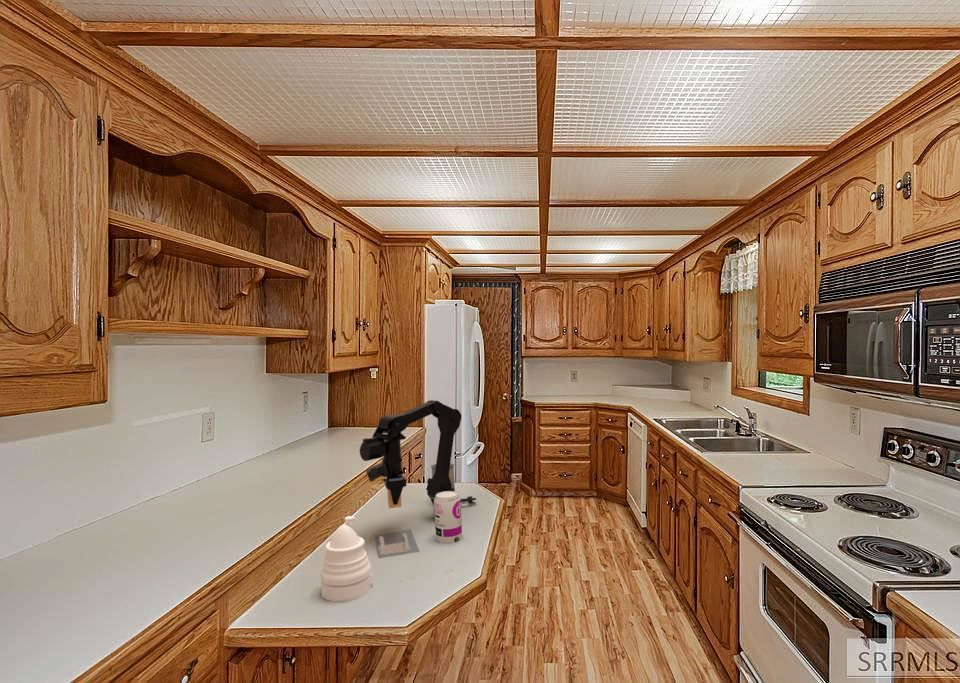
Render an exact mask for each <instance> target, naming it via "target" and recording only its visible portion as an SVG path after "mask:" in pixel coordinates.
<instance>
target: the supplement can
mask: <svg viewBox="0 0 960 683" xmlns="http://www.w3.org/2000/svg"><path fill="white" fill-rule="evenodd" d="M460 499H461V497H460V496H459V493H458V492H457V491H455V492H454V491H444V492H440V493H437V494H436V497H435V499H434V505H433V512H434V511H435V519H434V524H435V540H436V542H437V543H440V544H454V543H457V542H460V541H461V540H462V539H463V527H462V526H463V525H462V524H463V522H462V510H461V509H462V508H461V505H462V504H461V502H460Z"/></svg>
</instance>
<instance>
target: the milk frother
mask: <svg viewBox="0 0 960 683" xmlns="http://www.w3.org/2000/svg"><path fill="white" fill-rule="evenodd" d="M454 466H455V464H453V463H451V462H450V469H449V478H450V481H451V484H452V491H454V492H456V491H455V490H456V489H455V476H454V475H455V472H454ZM430 468H431V474H432V475H431V478H432V477H433V476H434V474H435V469H436V463H435V464H432V465H431V466H430ZM476 500H477V498H476V497H473V496H471V495H470V496H467V497H465V498H460V503H465V502H466V503H468V504H473V503H474V501H476ZM432 505H433V506H434V503H432Z"/></svg>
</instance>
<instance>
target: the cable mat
mask: <svg viewBox="0 0 960 683" xmlns="http://www.w3.org/2000/svg"><path fill="white" fill-rule="evenodd" d="M403 533H406V535H407V538H408V544H409V547H410V550H411V552H406V553H400V554H394V555H387V556H381V557H380V554H379V549H378V546H380V538H379V537H381V536H383V539H384V545H389V544H396V543H402V542H403ZM373 536H374V541H375V546H376V547H375V548H376V551H377V552H376V553H377V557H378V559H383V558H389V557H395V556H402V555H409V554H414V553H420V552H421V551H420V549H419V546H418V544H417V542H416V539H415V536H414V533H413V532H412V529H411V528H410V529H403V530H397V531H396V530H395V531H389V532H382V533H376V534H373Z"/></svg>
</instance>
